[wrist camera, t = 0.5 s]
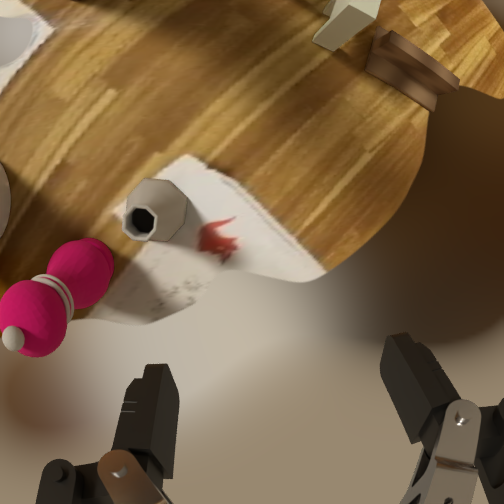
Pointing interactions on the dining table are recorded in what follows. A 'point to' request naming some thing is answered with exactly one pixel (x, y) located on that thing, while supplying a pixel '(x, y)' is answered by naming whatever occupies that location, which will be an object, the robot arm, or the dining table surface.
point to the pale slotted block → (345, 21)
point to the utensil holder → (4, 200)
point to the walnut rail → (409, 69)
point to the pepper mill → (54, 297)
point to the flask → (154, 211)
